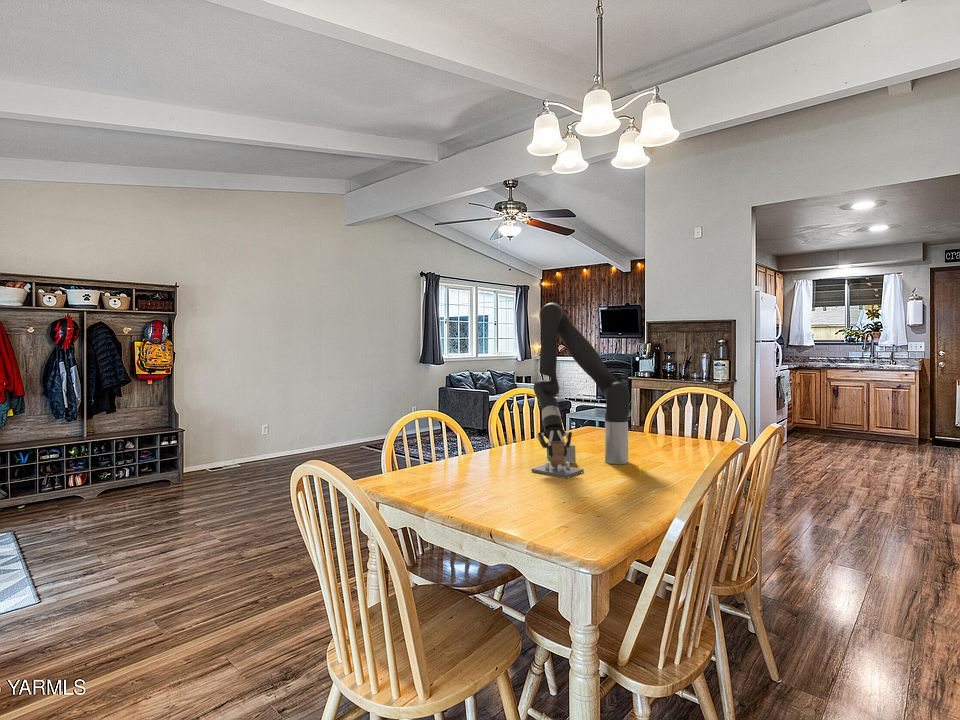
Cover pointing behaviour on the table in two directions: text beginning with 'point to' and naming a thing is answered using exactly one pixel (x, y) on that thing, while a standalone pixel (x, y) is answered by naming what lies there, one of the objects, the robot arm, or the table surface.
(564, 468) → the peg plate
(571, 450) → the box
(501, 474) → the table surface
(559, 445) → the post
